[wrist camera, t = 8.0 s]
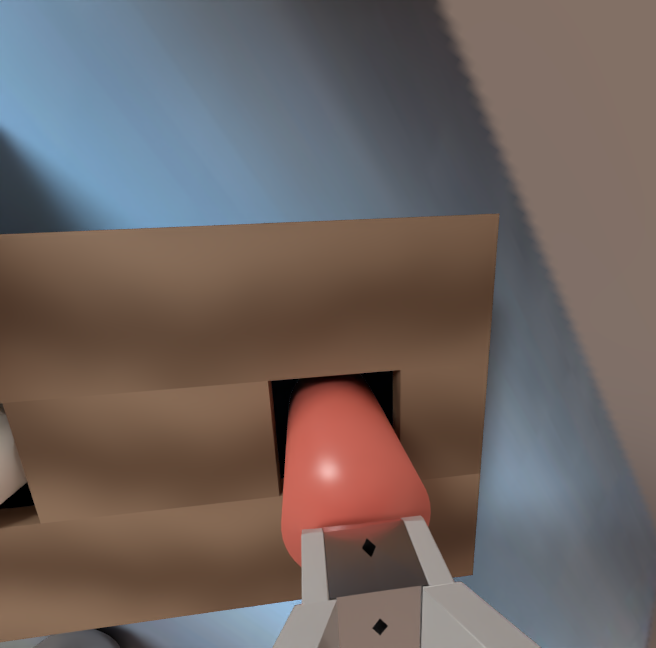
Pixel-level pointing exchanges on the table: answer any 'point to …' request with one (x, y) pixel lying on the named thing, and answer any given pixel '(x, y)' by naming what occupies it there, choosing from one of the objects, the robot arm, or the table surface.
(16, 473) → the plug
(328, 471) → the red plug
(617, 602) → the table surface
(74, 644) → the plastic bottle
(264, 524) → the plug housing
